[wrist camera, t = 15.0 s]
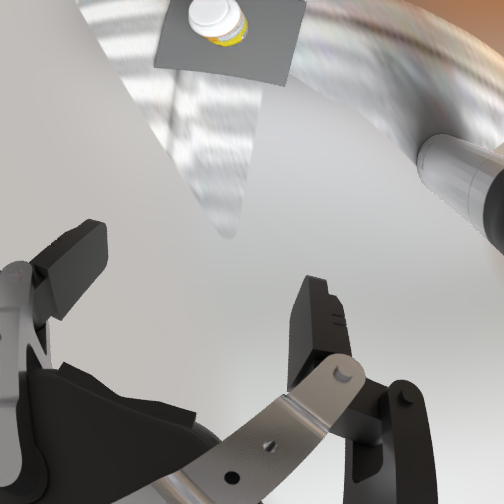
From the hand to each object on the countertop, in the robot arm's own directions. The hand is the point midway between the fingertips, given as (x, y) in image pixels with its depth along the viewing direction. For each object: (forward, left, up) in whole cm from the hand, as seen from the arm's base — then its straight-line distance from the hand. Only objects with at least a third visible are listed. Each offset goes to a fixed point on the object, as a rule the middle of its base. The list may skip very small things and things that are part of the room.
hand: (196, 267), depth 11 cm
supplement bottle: (+8, -15, -30) cm, 34 cm away
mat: (+8, -15, -30) cm, 35 cm away
